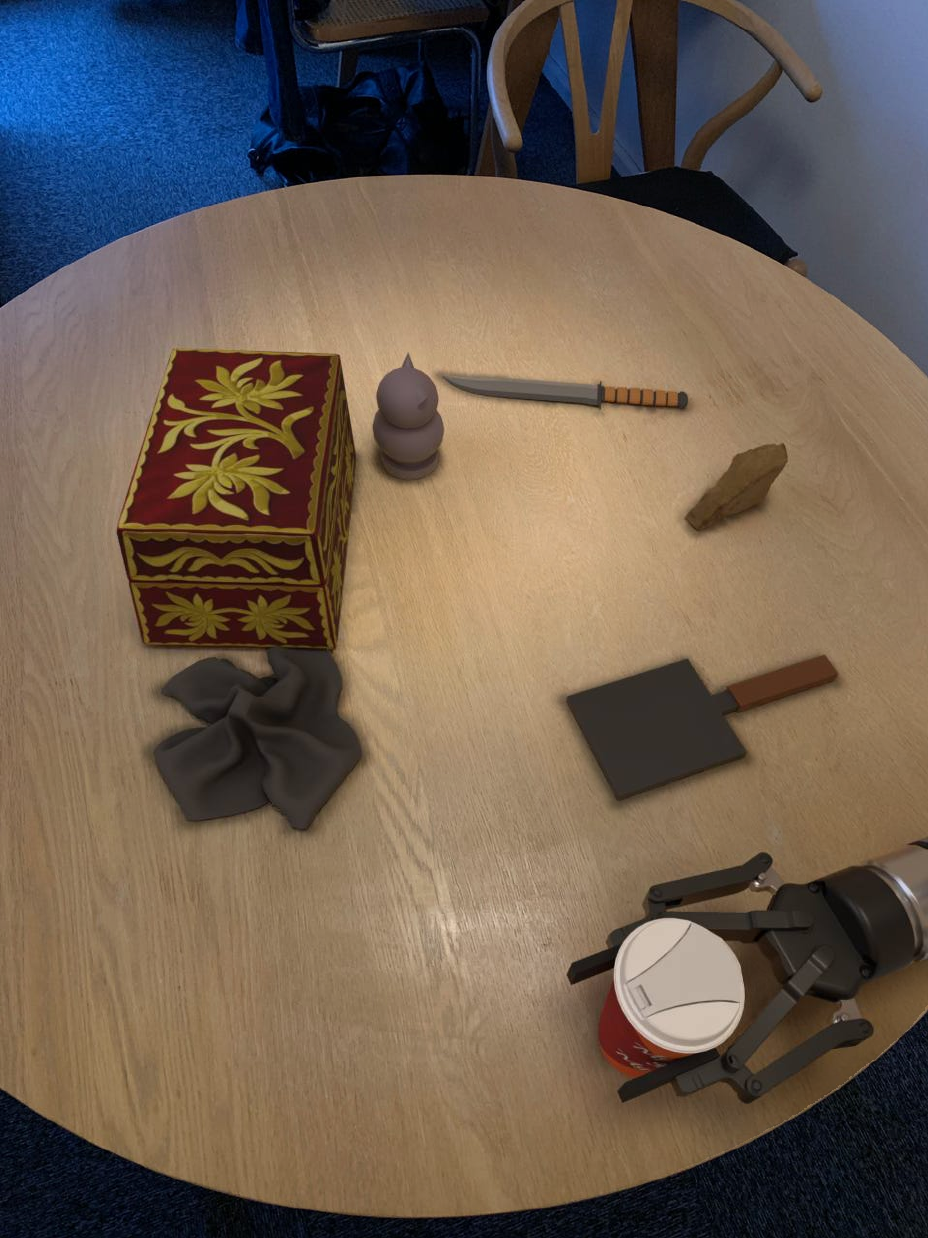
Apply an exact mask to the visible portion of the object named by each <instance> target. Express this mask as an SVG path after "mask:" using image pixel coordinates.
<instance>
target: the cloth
mask: <svg viewBox="0 0 928 1238" xmlns="http://www.w3.org/2000/svg"><path fill="white" fill-rule="evenodd" d="M265 649H266V654H267V655H266V656H267V661H268V665H269V666H270V668H271V670H272V671H273V676H270V675H267V676H263V677H258V676H256V675H255V674H253V673H251V672H250V671H247V670H244V669H241V668H239V667H237V666H236V665H235V664H234V662H232V661H231V660H229V659H228V658H224V657H223V658H220V659H219V658H217V657H215V656H214V657H213V656H212V657H211V656H210V657H206V658H202V659H199V660H197V661H196V662H194V663H193V664H191V665H189V666H187V667H186V668H184V669H183V670H181V671H179V672H177V673H176V674H174V675H172V677H170V679H168V681H167V682H166V684H164V686H163V687H161V690H160V693H161V694H162V695H163V696H165V697H173V698H175V699H177V700H178V701H179V702H180V703H181V705H183V706H184V708H185V709H186V710H187V711H188V712H189V713H190V714H191V715H192V716H193V717H195V718H196V719H199V720H201V721H204V722H207V723H209V724H210V725H207V726H203V727H191V728H187V729H184V730H181V731H178V732H177V733H174V734H172V735H170V736H168V737H166V738H165V739H164V740H162V741H161V742H159V743H158V744H157V746H156V747H155V748H154V749H153V755H154V762H155V765H156V767H157V769H158V772H159V774H160V776H161V777H162V779H163V781H164V782H165V784H166V786H167V788H168V790H169V792H170V794H171V796H172V797H173V798H174V799H175V801H176V802H177V803H178V805H179V807H180V809H181V811H182V812H183V813H184V817H185V819H186V820H187V821H205V820H211V819H212V820H213V819H220V818H227V817H231V816H237V815H240V814H245V813H248V812H251V811H254V810H256V809H260V808H262V807H264V806H266V805H267V804H268V803H271V804H272V805H273V806H274V807H276V808H277V809H278V810H279V811H281V812H282V813H283V814H284V815H285V817H286V819H287V820H288V822H289V825H290V827H293V828H294V829H298V830H306V829H308V828H309V826H310V824H311V823H313V820H314V819H315V818H316V816H317V815H318V814H319V812H320V811H321V809H322V808H323V807H324V805H325V804H327V802H328V800H329V799H330V797H331V796H332V795H333V794H334V793H335V791H336V790H337V788H338V787H339V786H340V785H341V783H342V782H343V780H344V779H345V778H346V777H347V776H348V774H349V773H350V772H351V771H352V769H353V768H354V767H355V766H356V765H357V764H358V762H359V761H360V759H361V758H362V753H363V751H362V748H361V744H360V740H359V738H358V735H357V734H356V731H355V730H354V728H353V727H352V726H351V724H350V723H348V721H346V720H344V718H342V717H341V716H340V715H339V713H338V705H339V699H340V695H341V693H342V689H343V678H342V675H341V671H340V669H339V666H338V664H337V662H336V660H335V659H334V657H333V655H332V653H331V652H330V651H329V649H302V648H282V647H272V648H265Z"/></svg>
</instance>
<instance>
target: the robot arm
mask: <svg viewBox="0 0 928 1238" xmlns="http://www.w3.org/2000/svg"><path fill="white" fill-rule="evenodd" d="M773 863H774V861H773V857H772V856H771V855H770V854H769V852H765V851H761V852H758V853H757V854H756V855H754V856H753V857H752V858H750V859H748V860H747V861H746V862H745V863H743V864H741V865H736V866H733V867H732V866H731V867H728V868H723V869H718V870H714V871H710V872H706V873H702V874H696V875H692V876H688V877H684V878H679V879H676V880H670V881H666V882H661V883H657V884H654V885H651V886H650V887H649V889H648V891H647V893H646V895H645V896H644V898H643V900H642V903H641V906H642V908H643V910H644V915H645V916H644V918H642V919H640V920H637V921H634V922H631V923H629V924H627V925H624V926H621V927H619V928H616V929H613V930H612V932H610V933H609V934H608V936H607V938H606V940H605V945H606V947H607V949H604V950H601V951H598V952H597V953H593V954H590V955H588V956H586V957H583V958H580V959H578V960H576V961H573V962H571V964H570V966H569V968H568V970H567V973H566V977H567V979H568V981H569V984H570V986H573V985H575V984H578V983H581V982H583V981H585V980H588V979H591V978H593V977H596V976H599V975H600V974H603V973H605V972H608V971H611V970H614V966H615V961H616V957H617V954H618V952H619V949H620V947H621V946H622V944H623V942H624V941H625V939H626V938H627V937H628V936H629V935H630V933H632V932H633V931H634V930H635V929H636V928H638V927H640V926H641V925H643V924H645V923H647V922H650V921H653V920H657V919H663V918H676V919H683V920H688V921H691V922H693V923H695V924H698V925H700V926H702V927H704V928H705V929H707V930H708V931H710V932H712V933H713V934H715V935H717V936H718V937H720V938H722V939H723V941H724V942H741V943H742V944H749V945H751V944H753V945H754V944H755V945H757V946H758V949H759V950H760V952H761V954H762V955H763V956H764V957H765V958H766V960H768V962H769V963H770V966H771V969H772V973H773V975H774V977H775V979H776V980H777V983H778V984H779V985H781V986H780V987H779V989H777V991H776V992H775V993H773V996H771V998H770V999H769V1000H768V1002H766V1003H765V1005H764V1006H763V1007H762V1008H761V1009H760V1011H759V1012H758V1013H757V1014H756V1016H754V1018H753V1019H752V1020H751V1021H750V1022H749V1023H748V1025H747V1026H746V1027H745V1028H744V1029H743V1030H742V1031H741V1032H740V1034H739V1035H738V1036H737V1037H736V1038H735V1039H734V1041H732V1043H731V1044H730V1045H729V1046H728V1047H727V1049H726V1050H725V1051H724V1052H723V1053H722V1054H721V1055H720V1052H719V1051H718V1049H717V1046H716V1047H715V1048H712V1049H710V1050H707V1051H704V1052H699V1053H694V1054H692V1055H689V1056H686V1057H683V1058H681V1059H678V1060H676V1061H674V1062H672V1063H669V1064H667V1065H665V1066H662V1067H660V1068H658V1069H655V1070H653V1071H651V1072H648V1073H646V1074H644V1075H641V1076H639V1077H637V1078H632V1079H630V1080H628V1081H625V1082H624V1083H623V1084H621V1086H620V1087H619V1089H617V1094H618V1097H619V1099H620V1102H621V1104H624V1103H626V1102H629V1101H631V1100H633V1099H635V1098H637V1097H640V1096H642V1095H644V1094H648V1093H649V1092H651V1091H654V1090H656V1089H658V1088H661V1087H663V1086H665V1085H667V1084H669V1083H670V1085H671V1086H672V1089H673V1091H674V1093H675V1095H676V1097H679V1098H683V1097H684V1098H686V1097H689V1096H690V1095H692V1094H695V1093H697V1092H699V1091H701V1090H704V1089H706V1088H709V1087H711V1086H713V1085H715V1084H718V1083H724V1084H727V1086H729V1087H730V1088H731V1089H732V1090H733V1091H734V1092H735V1093H736V1096H737V1098H738V1100H739V1101H740V1102H741V1103H743V1104H746V1105H749V1104H752V1103H753V1102H755V1101H756V1100H758V1099H759V1098H761V1097H762V1096H764V1095H765V1094H767V1093H768V1092H770V1091H771V1090H773V1089H774V1088H776V1087H777V1086H779V1085H781V1084H782V1083H783V1082H785V1081H786V1080H788V1079H789V1078H791V1077H792V1076H794V1075H796V1074H797V1073H799V1072H800V1071H801V1070H803V1069H805V1068H806V1067H808V1066H809V1065H811V1064H812V1063H813V1062H815V1061H816V1060H818V1059H819V1058H821V1057H823V1056H824V1055H826V1054H827V1053H829V1052H830V1051H832V1050H839V1049H847V1048H852V1047H856V1046H858V1045H860V1044H861V1043H863V1042H864V1041H866V1040H867V1039H869V1038H871V1037H872V1036H873V1035H874V1031H875V1030H874V1026H873V1024H872V1022H871V1021H869V1019H867V1018H864V1017H862V1014H861V1011H860V1009H859V1007H858V1003H857V1001H856V999H855V998H856V997H857V996H858V994H859V992H860V991H861V989H862V987H864V986H867V985H869V984H871V983H874V982H876V981H878V980H880V979H883V978H885V977H888V976H890V975H892V974H894V973H897V972H898V971H901V970H904V969H905V968H908V967H909V966H910V965H911V964H913V963H914V964H915V963H920V962H922V961H924V960H927V959H928V835H927V836H925V837H923V838H920V839H917V840H915V841H912V842H910V843H907V844H905V845H901V846H898V847H895V848H893V849H891V850H890V849H889V850H888V851H885V852H883V853H879V854H876V855H875V856H872V857H870V858H867V859H864V860H862V861H861V862H859V863H858V864H857V865H850V866H847V867H845V868H842V869H840V870H837V871H834V872H832V873H829V874H826V875H825V876H821V877H819V878H817V879H816V878H815V879H813V880H811V881H809V882H806V883H793V882H786V881H785V880H784V879H783V878H782V877H781V876H780V875H779V874H778V873H777V871H776V869H774V868H773V867H772V866H773ZM748 889H749V890H750V891H751V892H752V893H762V892H768V893H770V894H771V895H772V897H771V899H770V901H769V903H768V905H767V907H766V910H757V909H756V910H750V911H748V912H726V911H725V912H722V911H721V912H719V911H718V912H717V911H716V912H715V911H668V910H672V909H678V908H681V907H685V906H689V905H694V904H699V903H703V902H708V901H712V900H715V899H720V898H724V897H728V896H729V897H730V896H733V895H737V894H739V893H742V892H744V891H745V890H748ZM804 996H808V997H811V998H814V999H819V1000H822V1001H825V1002H829V1003H833V1004H835V1005H836V1011H834V1012H833V1013H831V1014H830V1015H829V1016H828V1017H827V1025H828V1026H826V1027H825V1028H823V1029H822V1030H820V1031H818V1032H817V1033H816V1034H814V1035H812V1036H811V1037H809V1038H808V1039H806V1040H804V1041H803V1042H801V1043H800V1044H798V1045H797V1046H796V1047H794V1048H792V1049H791V1050H789V1051H788V1052H787V1053H785V1054H783V1055H782V1056H780V1057H779V1058H777V1059H775V1060H774V1061H772V1062H771V1063H770V1064H768V1065H767V1066H765V1067H763V1068H761V1069H760V1070H759V1071H757V1072H756V1073H753V1071H751V1070H750V1069H749V1067H747V1066H746V1065H745V1064H746V1063H747V1062H748V1061H749V1060H750V1058H751V1057H752V1056H753V1055H754V1054H755V1053H756V1051H757V1050H758V1049H759V1048H760V1046H761V1045H762V1044H763V1043H764V1042H765V1041H766V1040H767V1038H768V1037H769V1035H771V1034H772V1033H773V1031H774V1030H776V1028H777V1026H778V1025H779V1024H780V1023H781V1022H782V1021H783V1020H784V1019H785V1017H786V1016H787V1015H788V1014H789V1013H790V1011H791V1010H792V1009H793V1008H794V1006H796V1004H797V1003H798V1002H799V1001H800V1000H801V999H802V998H803V997H804Z"/></svg>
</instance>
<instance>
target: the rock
mask: <svg viewBox="0 0 928 1238" xmlns="http://www.w3.org/2000/svg"><path fill="white" fill-rule="evenodd" d="M788 457H789V456H788V450H787V447H786V445H785V443H784V442H781V443H779V444H776V443H767V444H762V445H760V446H757V447H754V448H749V449H748V450H746V451H742V452H740V453H739V452H738V453H736V454H735V455H734V456H733V457H732V458H731V463H730V464H729V466H728V469H726V471H725V472H724V473H723V474H722V475H721V477H720V478H719V479H718V481H717V483H716V485H715V486H714V487H712V488H710V489H708V490H707V491H706V492H705V493H704V494H703V495H702V496H701V498H700V499H699V501H698V502H697V504H695V506H693V507H692V508H691V509H690V511H689V512H687V514H686V515H685V518H686V520H687V521H688V522H689V523H690V524H691V525H692V527H693V528H694V529H696V530H697V531H701V530H703V529H705V528H708V527H709V526H711V525H712V524H715V523H717V522H719V521H721V520H723V519H725V518H727V517H729V516H733V515H734V516H735V515H736V514H738V513H741V512H743V511H745V510H747V509H749V508H750V507H751V506H756V505H758V504H761V502H762V501H764V500H765V498H766V496H767V495H768V493H769V490H770V489H771V486H772V485H773V484H774V483H775V481H776V479H777V478H778V477H779V476H780V475H781V473H782V472H783V470H784V468H785V467H786V465H787V464H788V461H789V458H788Z"/></svg>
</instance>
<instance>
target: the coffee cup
mask: <svg viewBox="0 0 928 1238" xmlns="http://www.w3.org/2000/svg"><path fill="white" fill-rule="evenodd" d="M745 996H746V995H745V985H744V980H743V974H742V967H741V963H740V962H739V960H738V958H737V956H736V954H735V953H734V951H733V950H732V949H731V947H730V946H729V945H728V944H727V943H726V941H723V939H722V938H720V937H718V936H717V935H715V934H713V933H712V932H710V931H708V930H707V929H705V928H704V927H702V926H700V925H698V924H695V923H693V922H691V921H688V920H683V919H676V918H663V919H657V920H653V921H650V922H647V923H645V924H643V925H641V926H640V927H638V928H636V929H635V930H634V931H633V932H632V933H630V935H629V936H628V937H627V938H626V939H625V941H624V942H623V944H622V946H621V947H620V949H619V952H618V954H617V957H616V961H615V966H614V968H613V979H612V982H611V984H610V988H609V990H608V993H607V995H606V998H605V1001H604V1004H603V1007H602V1010H601V1014H600V1016H599V1020H598V1028H597V1035H598V1043H599V1046H600V1050H601V1052H602V1053H603V1055H604V1058H605V1059H606V1060H607V1062H608V1063H609V1064H610V1066H612V1067H613V1069H615V1070H616V1071H617V1072H619V1073H620V1074H622V1075H624V1076H626V1077H629V1078H632V1079H634V1078H637V1077H639V1076H641V1075H644V1074H646V1073H648V1072H651V1071H653V1070H655V1069H658V1068H660V1067H662V1066H665V1065H667V1064H669V1063H672V1062H674V1061H676V1060H678V1059H681V1058H683V1057H686V1056H689V1055H692V1054H694V1053H699V1052H704V1051H707V1050H710V1049H712V1048H715V1047H716V1048H717V1047H718V1046H720V1045H721V1044H722V1043H724V1042H725V1041H726V1040H727V1039H728V1038H729V1037H730V1036H732V1034H733V1033H734V1031H735V1030H736V1029H737V1027H738V1025H739V1023H740V1021H741V1018H742V1015H743V1012H744V1009H745V999H746V997H745Z"/></svg>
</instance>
